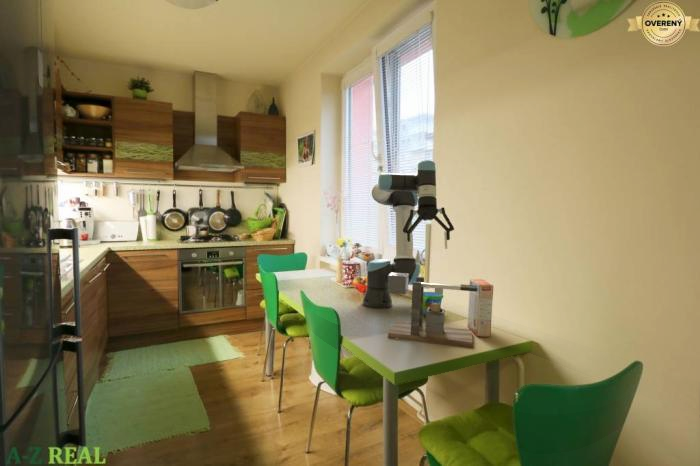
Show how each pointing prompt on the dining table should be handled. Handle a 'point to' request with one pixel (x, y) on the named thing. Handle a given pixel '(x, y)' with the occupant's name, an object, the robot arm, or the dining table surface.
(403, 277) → the lever
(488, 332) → the cracker box
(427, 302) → the snack cup
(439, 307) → the tan ball
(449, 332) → the press base
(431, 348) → the dining table surface
